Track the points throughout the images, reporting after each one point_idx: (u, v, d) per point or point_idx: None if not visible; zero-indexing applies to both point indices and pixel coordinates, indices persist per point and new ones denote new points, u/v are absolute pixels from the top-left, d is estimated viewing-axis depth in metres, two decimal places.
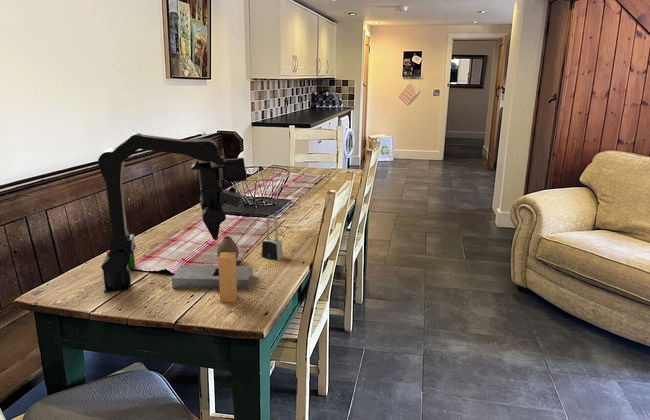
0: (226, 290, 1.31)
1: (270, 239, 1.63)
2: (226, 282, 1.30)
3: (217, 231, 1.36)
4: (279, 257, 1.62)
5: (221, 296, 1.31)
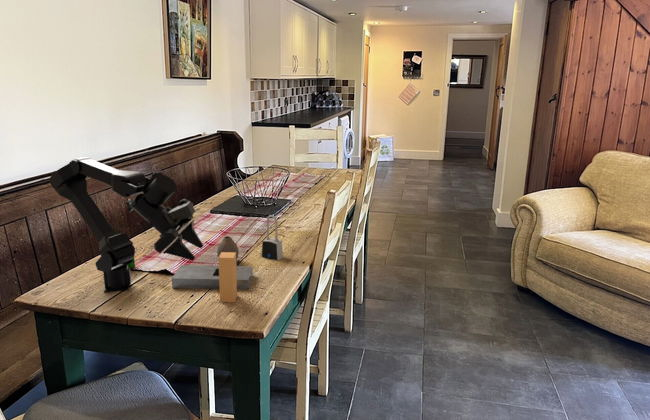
0: (226, 290, 1.31)
1: (270, 239, 1.63)
2: (226, 282, 1.30)
3: (186, 251, 1.24)
4: (279, 257, 1.62)
5: (221, 296, 1.31)
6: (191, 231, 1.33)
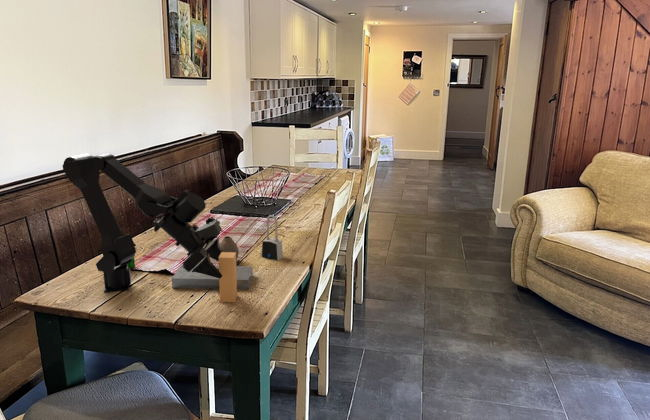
0: (226, 290, 1.31)
1: (270, 239, 1.63)
2: (226, 282, 1.30)
3: (214, 270, 1.25)
4: (279, 257, 1.62)
5: (221, 296, 1.31)
6: (217, 248, 1.35)
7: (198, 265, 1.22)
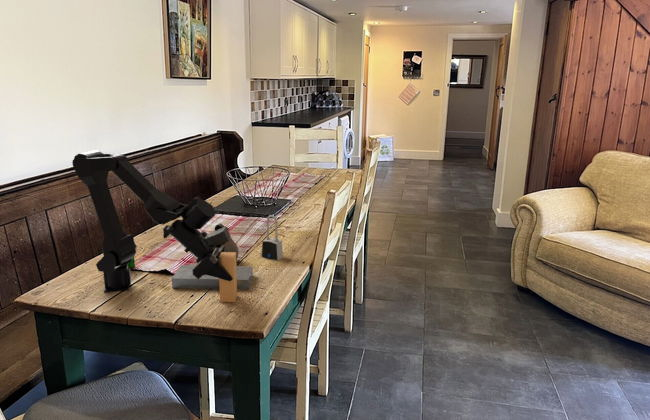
0: (226, 290, 1.31)
1: (270, 239, 1.63)
2: (226, 282, 1.30)
3: (224, 273, 1.28)
4: (279, 257, 1.62)
5: (221, 296, 1.31)
6: None
7: (209, 268, 1.25)
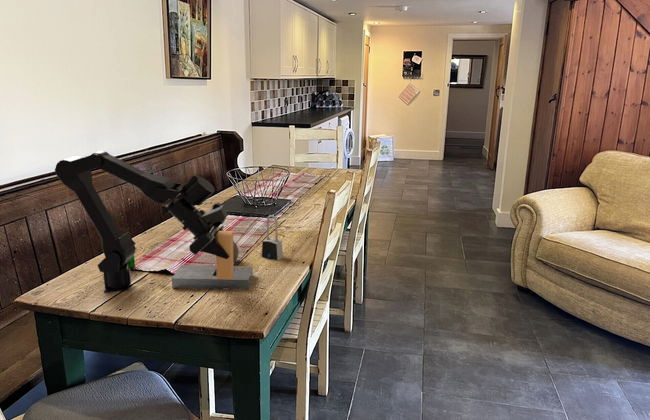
0: (223, 267, 1.34)
1: (270, 239, 1.63)
2: (222, 260, 1.33)
3: (221, 250, 1.31)
4: (279, 257, 1.62)
5: (218, 273, 1.34)
6: None
7: (206, 245, 1.28)
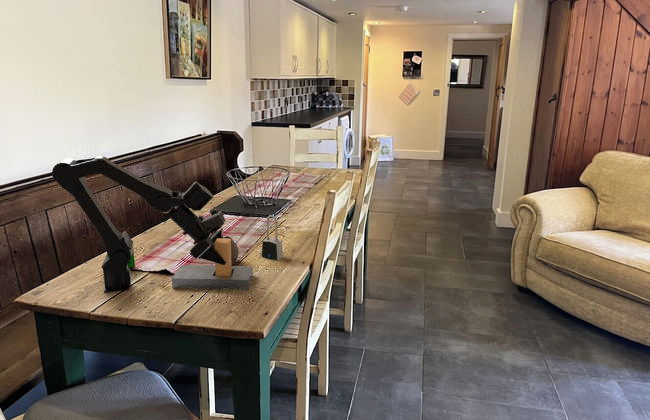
0: (222, 273, 1.41)
1: (270, 239, 1.63)
2: (221, 266, 1.41)
3: (218, 257, 1.36)
4: (279, 257, 1.62)
5: None
6: (220, 238, 1.45)
7: (204, 252, 1.33)
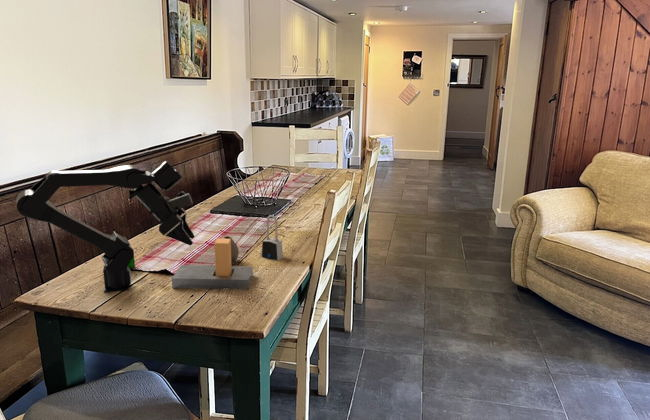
0: (222, 273, 1.41)
1: (270, 239, 1.63)
2: (221, 266, 1.41)
3: (186, 236, 1.35)
4: (279, 257, 1.62)
5: None
6: (184, 222, 1.45)
7: (173, 229, 1.32)
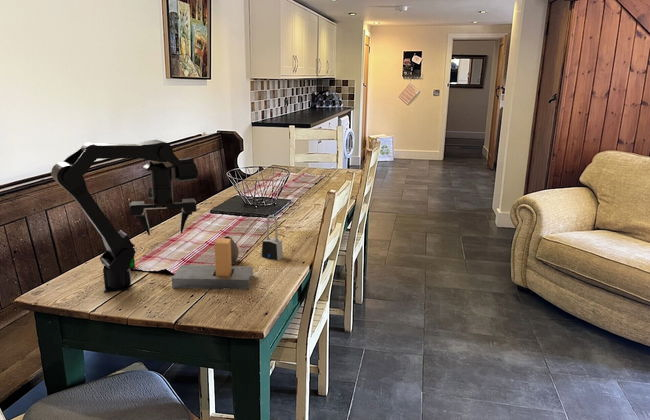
0: (222, 273, 1.41)
1: (270, 239, 1.63)
2: (221, 266, 1.41)
3: None
4: (279, 257, 1.62)
5: None
6: None
7: None
